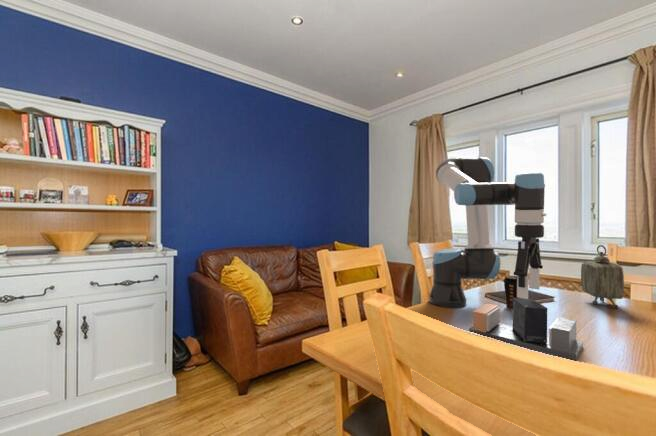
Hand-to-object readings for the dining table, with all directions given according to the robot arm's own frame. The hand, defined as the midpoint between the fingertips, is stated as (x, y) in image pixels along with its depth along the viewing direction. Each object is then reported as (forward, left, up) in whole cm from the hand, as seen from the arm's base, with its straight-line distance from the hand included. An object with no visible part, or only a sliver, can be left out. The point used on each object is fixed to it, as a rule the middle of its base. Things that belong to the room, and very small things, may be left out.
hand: (528, 293), depth 97 cm
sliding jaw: (-12, 0, -13) cm, 18 cm away
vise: (-1, 0, -15) cm, 15 cm away
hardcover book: (-15, +51, -16) cm, 55 cm away
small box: (0, 0, -13) cm, 13 cm away
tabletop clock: (+12, +63, -15) cm, 65 cm away
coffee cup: (-12, +33, -15) cm, 38 cm away
